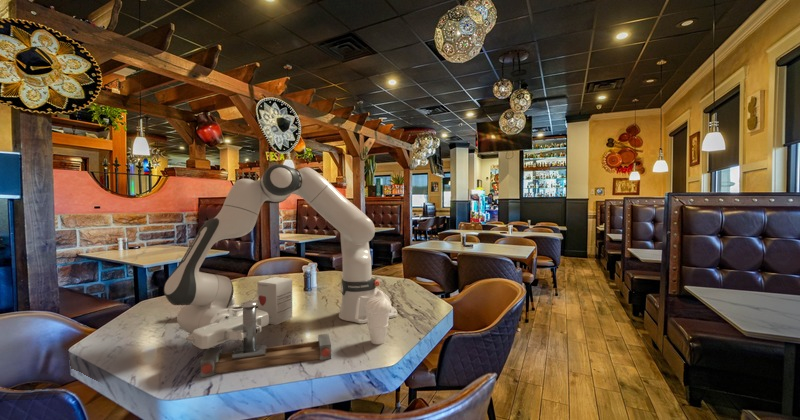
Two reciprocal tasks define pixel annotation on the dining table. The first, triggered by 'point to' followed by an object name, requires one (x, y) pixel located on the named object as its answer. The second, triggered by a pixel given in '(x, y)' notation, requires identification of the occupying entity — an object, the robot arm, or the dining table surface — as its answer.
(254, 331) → the carriage
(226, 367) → the rail
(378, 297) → the soft serve ice cream cone
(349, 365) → the dining table surface
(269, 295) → the supplement box
